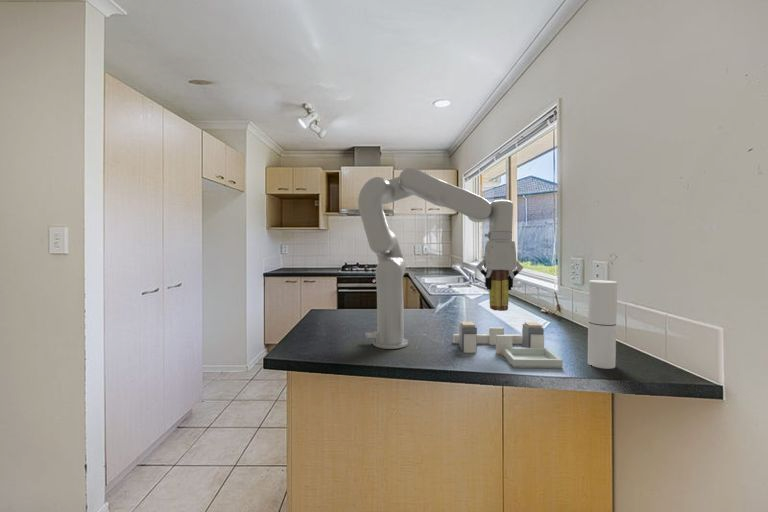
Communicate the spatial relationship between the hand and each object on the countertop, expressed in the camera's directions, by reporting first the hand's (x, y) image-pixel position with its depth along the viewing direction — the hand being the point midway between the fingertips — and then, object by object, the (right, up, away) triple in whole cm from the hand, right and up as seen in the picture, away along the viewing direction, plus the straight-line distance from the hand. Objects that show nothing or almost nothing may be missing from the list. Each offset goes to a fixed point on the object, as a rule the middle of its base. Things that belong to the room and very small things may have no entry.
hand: (498, 288), depth 125 cm
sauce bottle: (0, -7, 0) cm, 7 cm away
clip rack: (+1, -21, +1) cm, 21 cm away
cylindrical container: (+26, -21, -16) cm, 37 cm away
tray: (+6, -21, -13) cm, 25 cm away
